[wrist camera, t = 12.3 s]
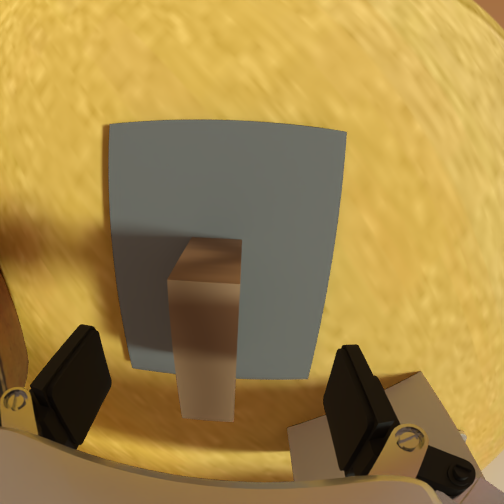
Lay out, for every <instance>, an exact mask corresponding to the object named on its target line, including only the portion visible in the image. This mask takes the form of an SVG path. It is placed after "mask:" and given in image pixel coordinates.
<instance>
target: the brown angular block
mask: <svg viewBox="0 0 504 504" xmlns="http://www.w3.org/2000/svg"><path fill="white" fill-rule="evenodd" d="M241 253H242V240H239V239H220V238H200V237H192V238H191V239H190V241H189V243H188V244H187V246H186V248H185V249H184V251H183V253H182V254H181V256H180V258H179V260H178V261H177V263H176V265H175V267H174V268H173V270H172V272H171V274H170V275H169V277H168V279H167V287H168V302H169V315H170V326H171V337H172V346H173V355H174V364H175V372H176V380H177V387H178V394H179V401H180V407H181V414H182V418H188V419H197V420H208V421H222V422H234V406H235V383H236V361H237V339H238V319H239V299H240V279H241Z"/></svg>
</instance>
